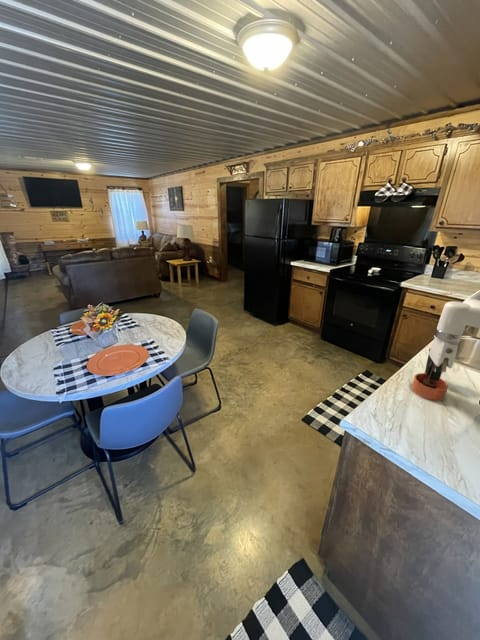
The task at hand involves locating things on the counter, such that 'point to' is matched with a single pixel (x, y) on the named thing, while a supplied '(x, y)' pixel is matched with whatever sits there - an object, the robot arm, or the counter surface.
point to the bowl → (427, 391)
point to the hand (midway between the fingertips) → (432, 377)
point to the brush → (430, 381)
